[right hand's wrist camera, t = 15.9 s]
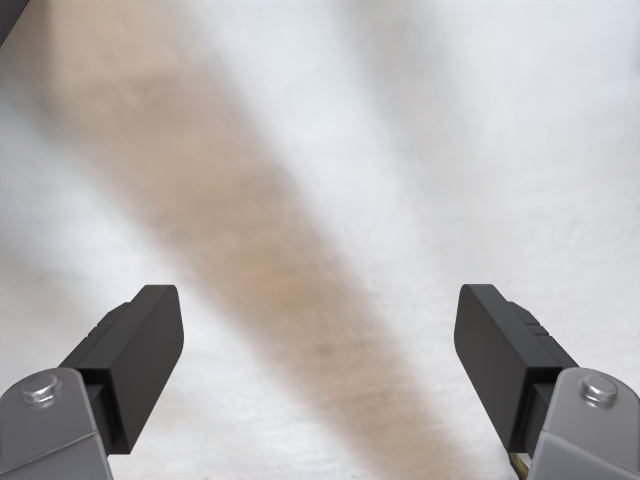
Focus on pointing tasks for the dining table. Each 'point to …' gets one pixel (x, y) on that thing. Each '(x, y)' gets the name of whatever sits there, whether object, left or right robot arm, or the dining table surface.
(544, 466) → the right robot arm
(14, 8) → the box
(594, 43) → the dining table surface
